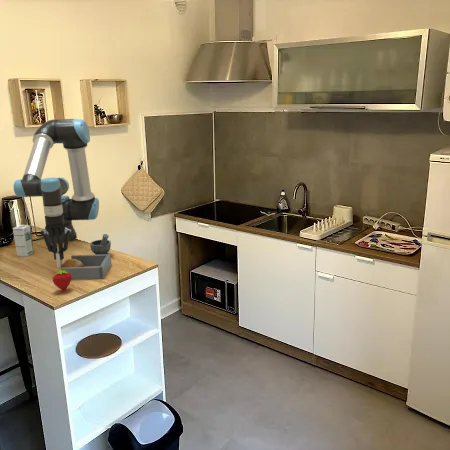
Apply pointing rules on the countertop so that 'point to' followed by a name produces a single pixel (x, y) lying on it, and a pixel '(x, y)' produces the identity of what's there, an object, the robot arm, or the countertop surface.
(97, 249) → the mortar and pestle
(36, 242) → the countertop surface
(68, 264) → the bread roll
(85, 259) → the box
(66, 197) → the robot arm
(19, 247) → the syrup box
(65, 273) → the strawberry
